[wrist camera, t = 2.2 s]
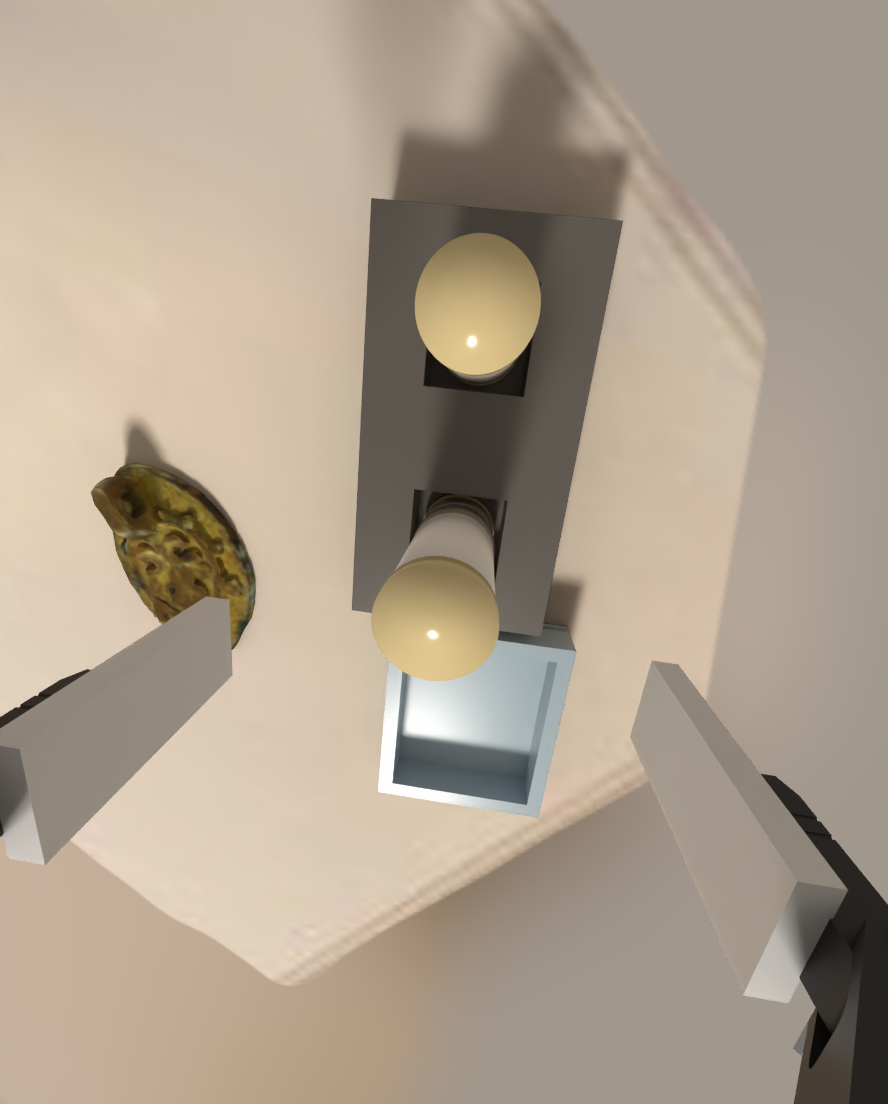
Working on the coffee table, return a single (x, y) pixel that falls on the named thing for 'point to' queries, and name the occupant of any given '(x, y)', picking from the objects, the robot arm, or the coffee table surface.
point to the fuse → (478, 306)
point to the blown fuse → (442, 594)
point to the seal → (175, 544)
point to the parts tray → (480, 726)
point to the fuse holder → (477, 400)
